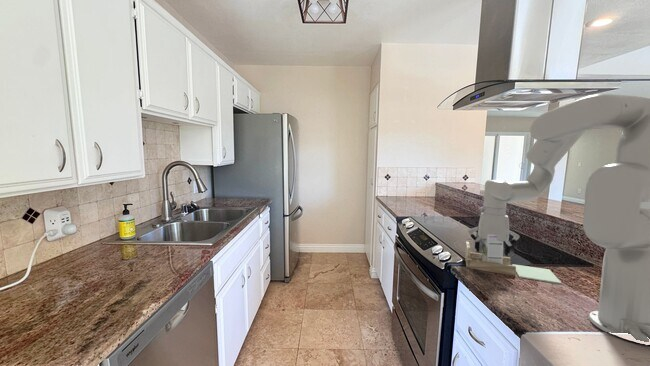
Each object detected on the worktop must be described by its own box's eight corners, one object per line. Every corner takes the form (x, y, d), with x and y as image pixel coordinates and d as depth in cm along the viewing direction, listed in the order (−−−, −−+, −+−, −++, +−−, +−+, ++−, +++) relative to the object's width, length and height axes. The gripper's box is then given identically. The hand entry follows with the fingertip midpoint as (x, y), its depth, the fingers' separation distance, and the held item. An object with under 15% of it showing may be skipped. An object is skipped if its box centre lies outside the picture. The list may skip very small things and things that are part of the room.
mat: (561, 284, 89) (561, 282, 88) (519, 277, 94) (519, 276, 94) (549, 270, 99) (549, 269, 99) (512, 265, 105) (512, 264, 104)
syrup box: (502, 270, 99) (505, 234, 98) (486, 269, 100) (488, 233, 99) (496, 265, 105) (498, 230, 104) (480, 263, 106) (482, 230, 105)
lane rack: (515, 275, 95) (516, 255, 94) (466, 267, 102) (467, 248, 101) (509, 265, 104) (510, 246, 103) (465, 259, 111) (466, 241, 110)
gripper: (470, 210, 101) (467, 252, 103) (523, 215, 94) (520, 259, 95) (468, 207, 108) (466, 246, 110) (518, 211, 100) (515, 253, 102)
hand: (491, 252), depth 102 cm, fingers open, 9 cm apart
